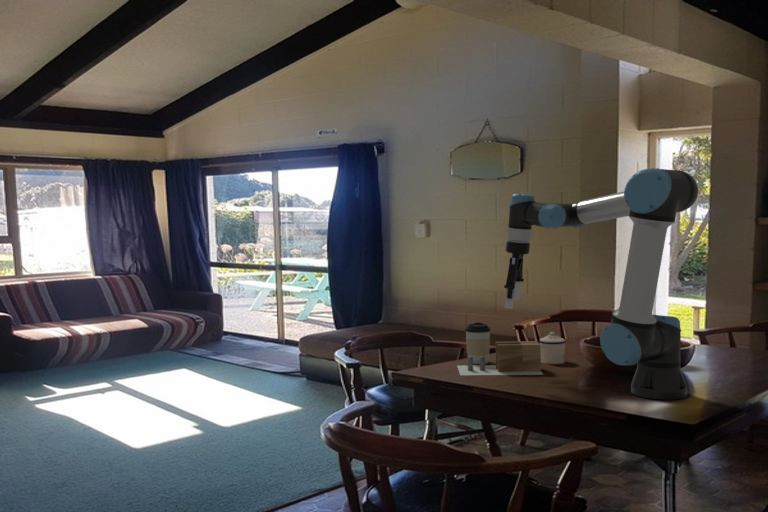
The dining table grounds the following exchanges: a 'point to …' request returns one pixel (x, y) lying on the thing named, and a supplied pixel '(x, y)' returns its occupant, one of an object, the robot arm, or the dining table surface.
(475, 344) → the coffee cup
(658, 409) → the dining table surface
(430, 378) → the dining table surface
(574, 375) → the dining table surface
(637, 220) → the robot arm
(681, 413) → the dining table surface
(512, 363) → the slotted block
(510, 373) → the board
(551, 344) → the teacup with lid
